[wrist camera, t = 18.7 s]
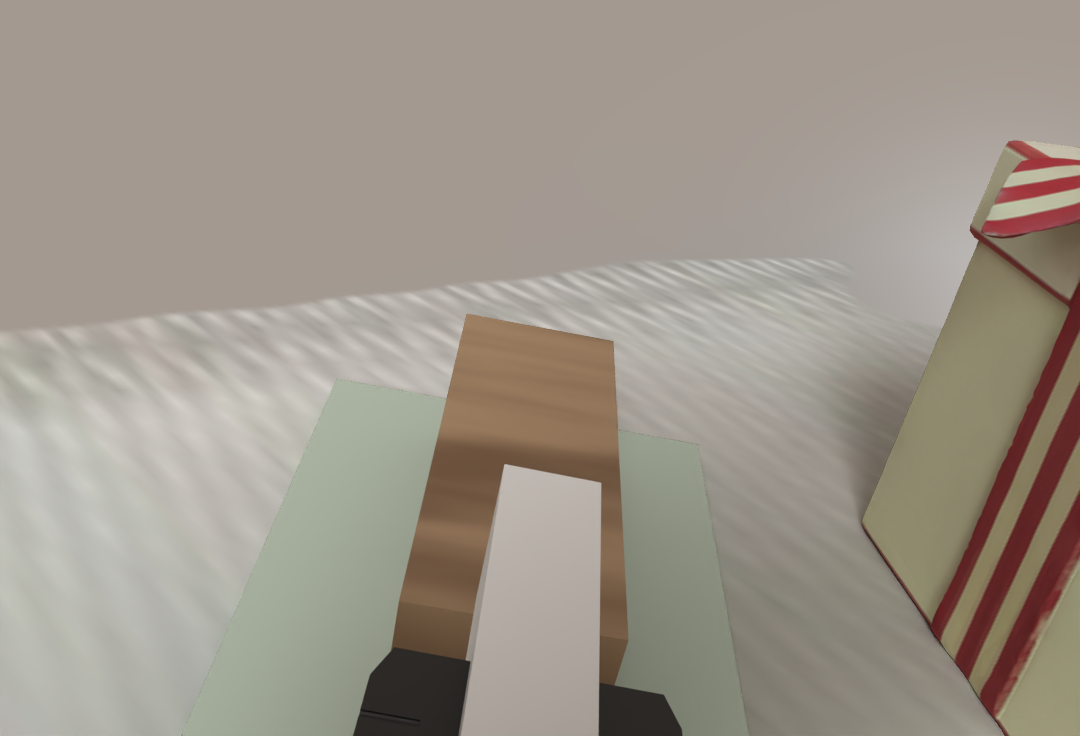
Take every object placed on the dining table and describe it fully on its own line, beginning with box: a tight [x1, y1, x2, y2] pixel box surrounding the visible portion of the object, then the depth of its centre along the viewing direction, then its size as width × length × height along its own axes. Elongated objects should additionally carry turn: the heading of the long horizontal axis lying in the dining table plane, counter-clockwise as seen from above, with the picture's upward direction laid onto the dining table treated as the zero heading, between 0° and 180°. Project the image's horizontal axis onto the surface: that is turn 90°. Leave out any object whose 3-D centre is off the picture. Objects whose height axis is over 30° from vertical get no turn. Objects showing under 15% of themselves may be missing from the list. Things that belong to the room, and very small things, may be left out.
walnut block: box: [391, 314, 629, 685], centre depth 29 cm, size 5×5×14 cm
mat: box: [181, 379, 749, 736], centre depth 28 cm, size 24×14×1 cm, turn 177°
